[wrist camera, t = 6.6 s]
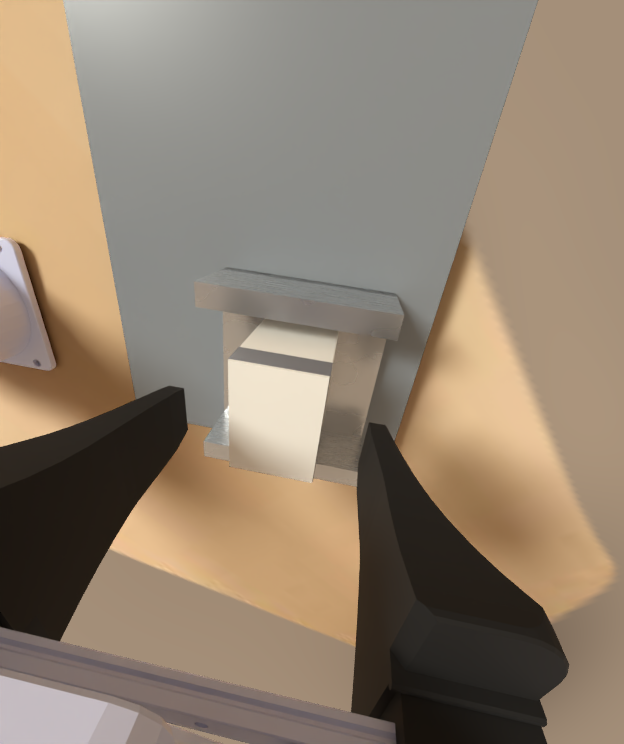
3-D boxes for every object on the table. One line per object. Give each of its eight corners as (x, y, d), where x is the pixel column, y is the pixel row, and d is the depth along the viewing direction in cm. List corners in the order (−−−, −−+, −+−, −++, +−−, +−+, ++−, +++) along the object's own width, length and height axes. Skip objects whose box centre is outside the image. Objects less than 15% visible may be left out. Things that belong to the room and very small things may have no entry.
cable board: (149, 403, 21) (138, 413, 20) (72, -88, 11) (41, -120, 10) (386, 448, 20) (387, 462, 19) (543, -51, 10) (564, -82, 9)
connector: (262, 401, 17) (229, 466, 13) (267, 314, 15) (227, 359, 11) (325, 412, 17) (312, 483, 13) (339, 326, 15) (330, 377, 10)
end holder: (228, 418, 19) (204, 456, 16) (227, 266, 15) (193, 281, 12) (358, 443, 19) (357, 486, 16) (395, 293, 14) (404, 315, 11)
